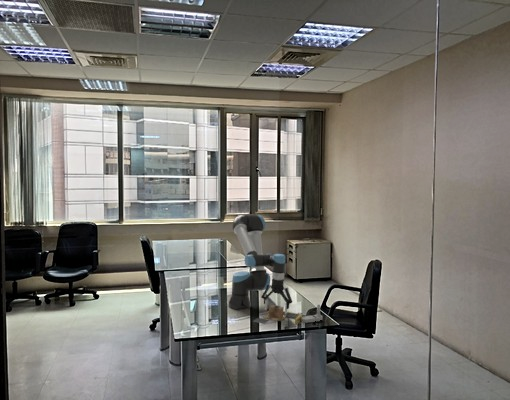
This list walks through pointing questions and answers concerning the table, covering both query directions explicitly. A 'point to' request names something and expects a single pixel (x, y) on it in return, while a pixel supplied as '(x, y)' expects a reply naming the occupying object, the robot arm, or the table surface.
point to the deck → (273, 317)
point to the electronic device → (312, 317)
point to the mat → (261, 320)
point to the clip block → (276, 311)
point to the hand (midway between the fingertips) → (275, 311)
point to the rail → (293, 316)
